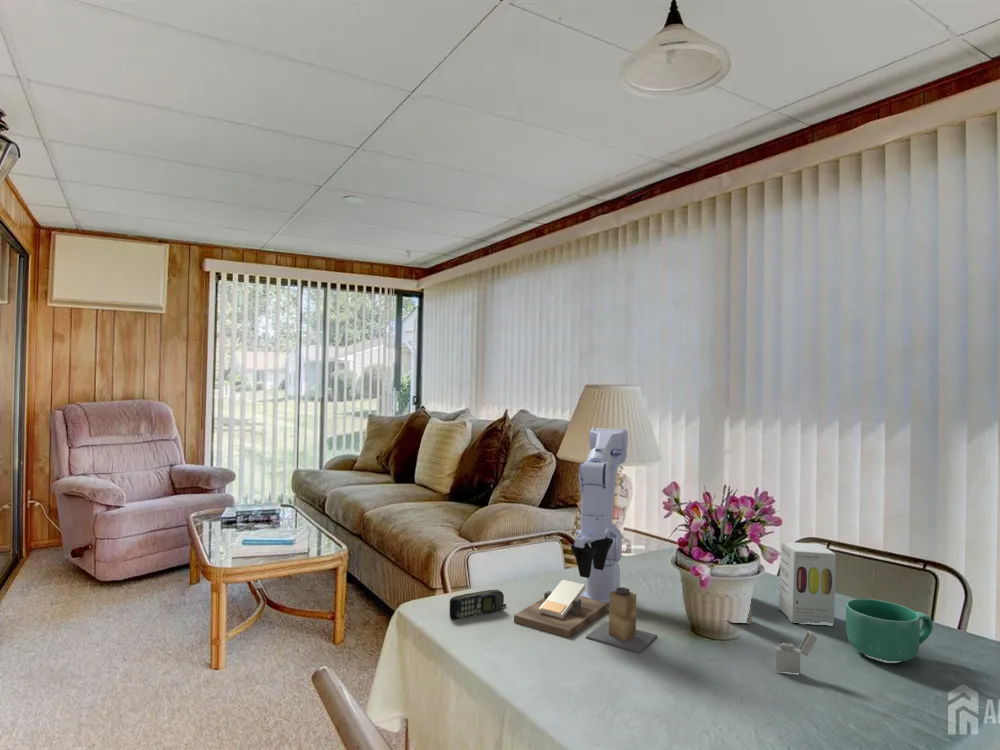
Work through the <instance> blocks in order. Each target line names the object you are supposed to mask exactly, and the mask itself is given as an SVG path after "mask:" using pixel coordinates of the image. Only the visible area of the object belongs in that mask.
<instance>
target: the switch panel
mask: <svg viewBox="0 0 1000 750" xmlns="http://www.w3.org/2000/svg"><path fill="white" fill-rule="evenodd" d="M552 592H553V591H550V590H548V591H546V592H544V593H543V595H544V596H543V598H541V599H540V600H537V601H536V602H535V603H532V604H531V605H529V606H527V607H525V608H524V609H522V610H521V611H518V612H517V613H515V614H514V615H513V622H514V623H517V624H521V625H524V626H527V627H531V628H534V629H538V630H541V631H545V632H548V633H552V634H555V635H557V636H558V635H559V636H562V637H566V638H571V637H573V635H575V634H576V633H578V632H579V631H580V630H582V629H583V628H585V627H586V626H587V625H589V624H590V623H591V622H592V621H594V620H595V619H597V618H598V617H600V616H601V615H602V614H604V613H605V612H606V611H608V609H609V608H608V605H609V604H608V603H605V602H601V601H596V600H592V599H588V598H584V597H580V596H579V597H578V598H576V599H575V600H573V605H572V607H571V608H570V609H569V611H568V612H567V613H566V615H565V616H564V617H563V619H562V618H558V617H555V616H551V615H547V614H543V613H540V612H539V608H540V606H541V605H542V604H543V603H544V601H545V600H546V599H547V598H548V597H549V595H550V594H551V593H552Z"/></svg>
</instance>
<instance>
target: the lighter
mask: <svg viewBox="0 0 1000 750" xmlns="http://www.w3.org/2000/svg"><path fill="white" fill-rule="evenodd" d="M818 639H819V638H818V636H817V635H816V634H815V633H813V632H812V631H810V630H807V632H806V634H805V635H804V637H803V638H802V641H801V642H800V644H799V646H798V648H794V644H793V643H785V642H782V643H780V644H779V646H774V670H775V669H776V671H779V672H789V673H790V672H791V673H800V674H801V654H802V655H804V656H806V657H808V656H809V654H810V652H811V651H812V649H813V647H814V645H815V644H816V642H817V640H818ZM776 671H775V672H776Z"/></svg>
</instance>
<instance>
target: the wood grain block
mask: <svg viewBox="0 0 1000 750" xmlns="http://www.w3.org/2000/svg"><path fill="white" fill-rule="evenodd" d="M608 605H609V608H608V609H609V611H608V613H609V615H608V620H609V621H608V622H609V635H610V636H613V637H615V638H618V639H620V640H622V641H626V640H628V639H630V638H633V637H635V636H636V629H637V593H634V592H632V591H631V589H630V588H627V587H622V586H620V587H619V588H617V589H616V591H613V592H610V603H609V604H608Z"/></svg>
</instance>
